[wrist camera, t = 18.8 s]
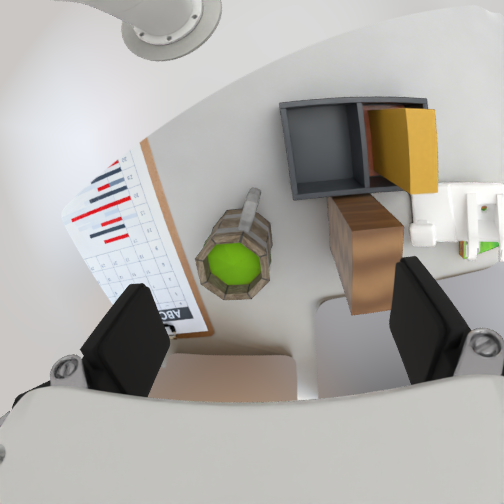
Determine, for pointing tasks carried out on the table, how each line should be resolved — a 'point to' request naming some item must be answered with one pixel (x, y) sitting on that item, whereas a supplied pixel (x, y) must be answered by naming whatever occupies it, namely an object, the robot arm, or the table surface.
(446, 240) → the tape dispenser
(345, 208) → the tan rectangular block
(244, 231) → the mug
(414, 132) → the yellow box
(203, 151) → the table surface
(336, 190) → the caddy
